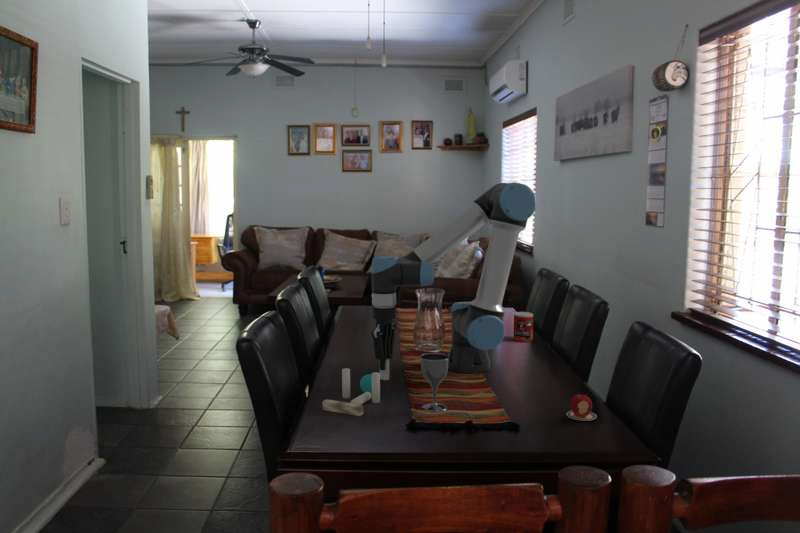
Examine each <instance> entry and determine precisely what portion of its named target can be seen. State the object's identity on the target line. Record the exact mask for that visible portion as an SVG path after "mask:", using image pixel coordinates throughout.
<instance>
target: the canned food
mask: <svg viewBox="0 0 800 533" xmlns="http://www.w3.org/2000/svg"><path fill="white" fill-rule="evenodd" d="M533 329H534V314H533V313H532V312H527V311H517V312H515V313H513V340H514V341H515V342H518V343H530V342H532V341H533V337H534V336H533V334H534V330H533Z"/></svg>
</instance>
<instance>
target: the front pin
mask: <svg viewBox="0 0 800 533" xmlns="http://www.w3.org/2000/svg"><path fill="white" fill-rule="evenodd" d="M370 399H371V400H372V394H371V393H370V392H365V393H364V392H363V393H362V394H360V395H358V396H357V397H355V398H353V399H351V400H350V402H349V403H353V404H359V405H363V404H364V403H366V402H368V401H370Z"/></svg>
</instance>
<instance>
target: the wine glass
mask: <svg viewBox="0 0 800 533" xmlns="http://www.w3.org/2000/svg"><path fill="white" fill-rule="evenodd" d="M448 355H449V354H446V353H442V352H427V353H426V352H425V353H423V354H421V355H420V369H421V374H422V376H423V378H424V379H425V380H426V381H427V383H428V384H429V385H430V387H431V388H432V389H431V390H432V398H433V399H432V400H433V401H432V402H431V403H426V405H425V404H423V405H422V407H421V409H422V408H423V409H424V411H425V410H426V412H430V413H431V412H432V413H438V412H439V413H440V412H444V411H446V410H447V409H448V406H447V405H445V404H442V403H437V392H438V387H439V385H440V384H441V383H442V382H443V381H444V379H445V378H446V377H447V375H448V371H449V369H448V366H449V356H448ZM423 409H422V410H423Z"/></svg>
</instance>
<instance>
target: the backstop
mask: <svg viewBox="0 0 800 533" xmlns="http://www.w3.org/2000/svg"><path fill="white" fill-rule="evenodd" d="M322 410H323V411H326V412H327V411H328V412H333V413H339V414H344V415H346V414H347V415H350V416H356V417H360V416H362V415H364V405H363V404H361V405H359V404H353V403H350V402H346V401H340V400H335V399H334V400H333V399H324V400H323V401H322Z"/></svg>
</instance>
